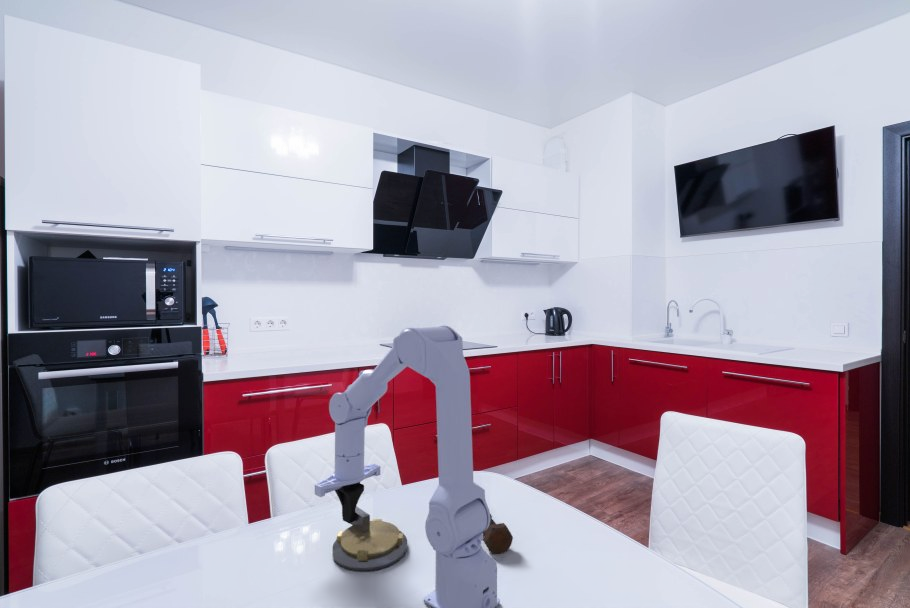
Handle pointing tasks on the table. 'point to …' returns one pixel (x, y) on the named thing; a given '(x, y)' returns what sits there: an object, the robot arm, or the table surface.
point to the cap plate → (372, 563)
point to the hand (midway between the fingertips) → (348, 520)
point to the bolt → (497, 537)
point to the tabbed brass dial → (369, 537)
